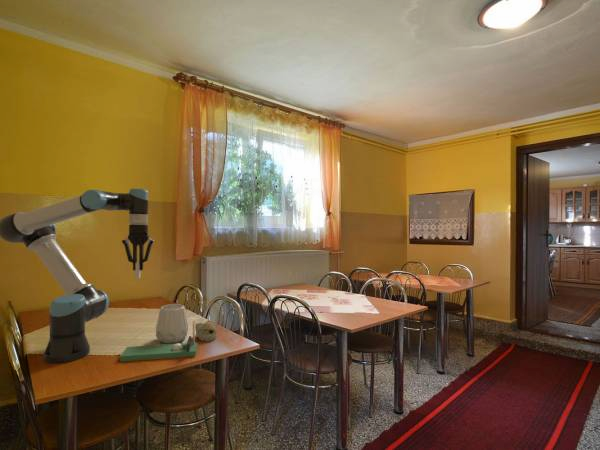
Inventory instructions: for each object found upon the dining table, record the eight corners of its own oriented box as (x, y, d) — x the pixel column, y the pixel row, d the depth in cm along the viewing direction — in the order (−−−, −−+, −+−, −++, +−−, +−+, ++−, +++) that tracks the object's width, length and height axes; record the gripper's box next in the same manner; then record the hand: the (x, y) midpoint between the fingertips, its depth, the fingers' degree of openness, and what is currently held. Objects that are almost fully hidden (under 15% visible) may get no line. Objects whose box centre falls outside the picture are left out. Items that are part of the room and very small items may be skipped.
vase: (168, 347, 146) (169, 312, 145) (148, 340, 153) (149, 307, 153) (194, 338, 157) (195, 305, 157) (175, 332, 165) (175, 301, 165)
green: (120, 361, 130) (120, 330, 130) (127, 351, 140) (127, 322, 140) (195, 356, 136) (195, 326, 136) (197, 347, 146) (197, 319, 146)
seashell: (215, 340, 152) (205, 320, 153) (197, 349, 154) (187, 329, 154) (223, 332, 163) (213, 313, 163) (206, 340, 164) (197, 321, 164)
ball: (169, 350, 137) (177, 343, 137) (170, 346, 140) (178, 339, 141) (176, 357, 137) (183, 350, 138) (177, 353, 141) (184, 346, 142)
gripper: (119, 224, 143) (119, 279, 143) (152, 224, 145) (152, 278, 146) (124, 223, 150) (124, 276, 150) (156, 224, 153) (155, 276, 153)
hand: (137, 277), depth 148 cm, fingers closed
